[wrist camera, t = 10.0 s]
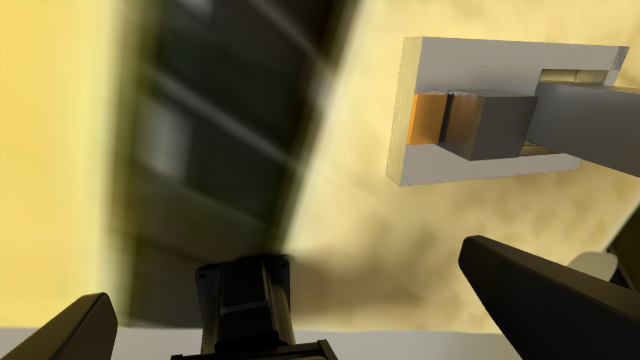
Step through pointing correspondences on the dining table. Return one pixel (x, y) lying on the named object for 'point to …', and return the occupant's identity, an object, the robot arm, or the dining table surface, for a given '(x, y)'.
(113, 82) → the dining table surface
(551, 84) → the plug
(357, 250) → the dining table surface
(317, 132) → the dining table surface
